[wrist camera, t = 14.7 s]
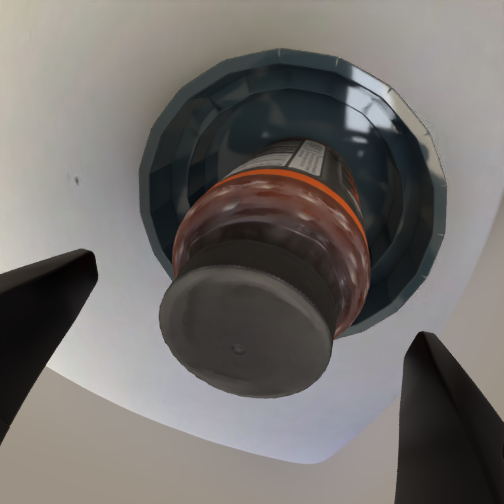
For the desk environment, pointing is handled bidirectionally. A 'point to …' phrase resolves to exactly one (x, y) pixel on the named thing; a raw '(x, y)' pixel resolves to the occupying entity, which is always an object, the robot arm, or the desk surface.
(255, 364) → the supplement bottle
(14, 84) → the desk surface
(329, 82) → the bowl
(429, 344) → the robot arm
